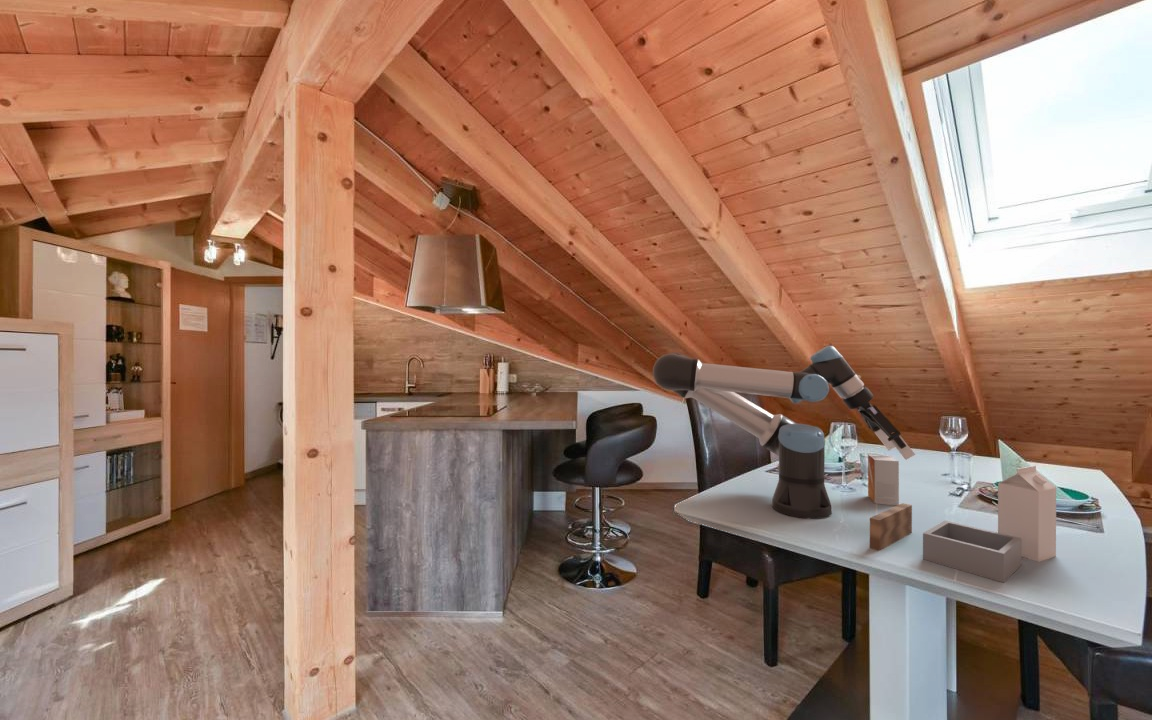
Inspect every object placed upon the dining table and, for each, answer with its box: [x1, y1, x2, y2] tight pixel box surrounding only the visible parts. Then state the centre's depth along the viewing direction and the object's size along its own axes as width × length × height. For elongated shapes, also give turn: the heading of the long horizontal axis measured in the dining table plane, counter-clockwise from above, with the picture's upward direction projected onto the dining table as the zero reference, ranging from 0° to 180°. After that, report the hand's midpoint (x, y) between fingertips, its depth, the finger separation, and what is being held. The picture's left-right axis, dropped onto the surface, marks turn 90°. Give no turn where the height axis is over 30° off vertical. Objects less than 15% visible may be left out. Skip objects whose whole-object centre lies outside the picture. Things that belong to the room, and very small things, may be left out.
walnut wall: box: [869, 502, 913, 552], centre depth 111 cm, size 18×2×7 cm, turn 126°
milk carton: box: [997, 465, 1057, 563], centre depth 104 cm, size 7×7×19 cm
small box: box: [867, 454, 900, 506], centre depth 142 cm, size 8×6×13 cm
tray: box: [922, 520, 1023, 584], centre depth 99 cm, size 13×13×6 cm
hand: (901, 452), depth 138 cm, fingers open, 13 cm apart
